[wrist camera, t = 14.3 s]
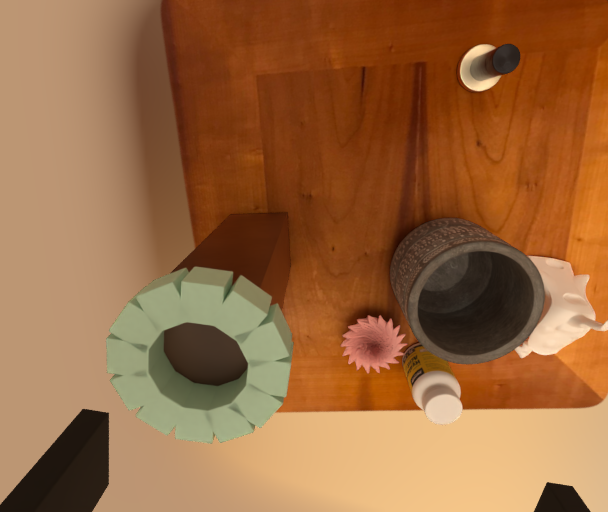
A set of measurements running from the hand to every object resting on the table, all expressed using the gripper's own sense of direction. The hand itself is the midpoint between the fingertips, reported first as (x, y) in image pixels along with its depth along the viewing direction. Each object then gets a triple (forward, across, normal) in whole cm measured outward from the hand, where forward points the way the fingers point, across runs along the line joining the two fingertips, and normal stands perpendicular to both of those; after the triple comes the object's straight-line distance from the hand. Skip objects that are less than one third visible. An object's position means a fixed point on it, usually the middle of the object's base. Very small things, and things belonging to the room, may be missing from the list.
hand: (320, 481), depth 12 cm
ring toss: (+36, +13, +18) cm, 43 cm away
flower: (+37, +8, -13) cm, 40 cm away
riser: (+36, -7, -4) cm, 37 cm away
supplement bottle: (+37, +16, -16) cm, 43 cm away
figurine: (+37, +27, -6) cm, 46 cm away
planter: (+37, +14, -3) cm, 39 cm away
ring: (+12, -6, -4) cm, 14 cm away
